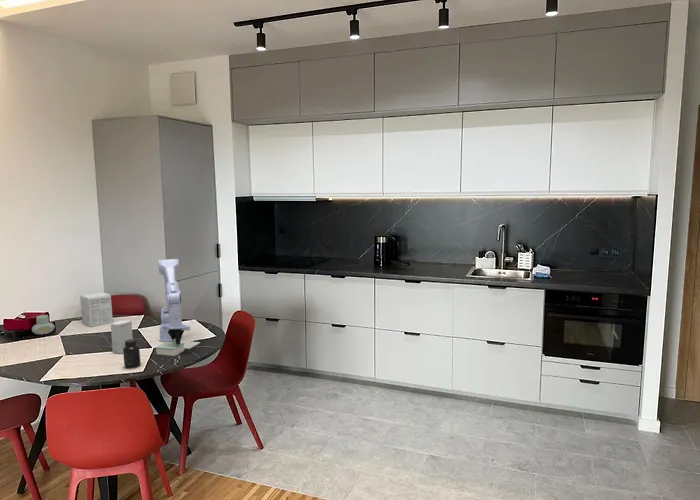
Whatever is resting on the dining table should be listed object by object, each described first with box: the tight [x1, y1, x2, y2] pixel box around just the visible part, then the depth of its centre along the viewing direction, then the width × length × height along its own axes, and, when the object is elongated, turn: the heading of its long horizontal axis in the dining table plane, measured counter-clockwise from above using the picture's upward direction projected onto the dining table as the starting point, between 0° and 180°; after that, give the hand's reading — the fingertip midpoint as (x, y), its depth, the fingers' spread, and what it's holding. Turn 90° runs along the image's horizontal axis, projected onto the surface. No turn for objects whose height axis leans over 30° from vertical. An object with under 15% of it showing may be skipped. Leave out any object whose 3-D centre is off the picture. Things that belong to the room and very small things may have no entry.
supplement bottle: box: [122, 338, 141, 369], centre depth 222 cm, size 7×7×12 cm
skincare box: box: [110, 319, 134, 355], centre depth 243 cm, size 8×6×15 cm
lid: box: [155, 338, 184, 350], centre depth 240 cm, size 10×8×6 cm
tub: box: [155, 345, 185, 357], centre depth 240 cm, size 10×8×3 cm
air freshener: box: [31, 314, 56, 336], centre depth 275 cm, size 11×8×10 cm
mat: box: [180, 340, 201, 350], centre depth 252 cm, size 12×10×1 cm
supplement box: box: [79, 291, 114, 328], centre depth 295 cm, size 13×13×18 cm
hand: (176, 344), depth 239 cm, fingers closed on lid
